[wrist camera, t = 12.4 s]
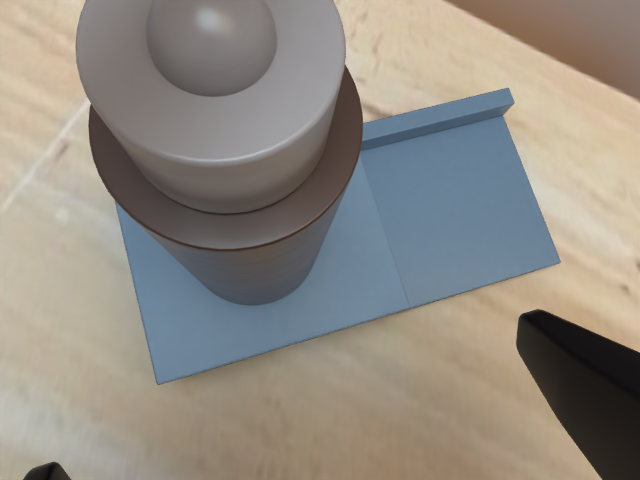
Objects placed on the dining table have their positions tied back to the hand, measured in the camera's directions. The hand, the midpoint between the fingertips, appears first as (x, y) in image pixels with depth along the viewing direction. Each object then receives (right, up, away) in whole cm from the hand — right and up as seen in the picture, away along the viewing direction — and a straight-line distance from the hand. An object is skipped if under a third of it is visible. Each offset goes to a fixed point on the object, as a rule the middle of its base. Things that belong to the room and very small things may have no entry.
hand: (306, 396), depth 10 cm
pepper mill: (-2, +3, +8) cm, 9 cm away
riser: (+2, +3, +13) cm, 13 cm away
